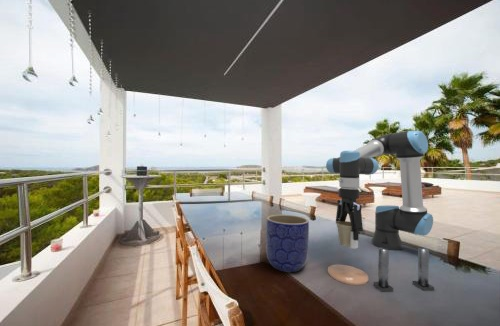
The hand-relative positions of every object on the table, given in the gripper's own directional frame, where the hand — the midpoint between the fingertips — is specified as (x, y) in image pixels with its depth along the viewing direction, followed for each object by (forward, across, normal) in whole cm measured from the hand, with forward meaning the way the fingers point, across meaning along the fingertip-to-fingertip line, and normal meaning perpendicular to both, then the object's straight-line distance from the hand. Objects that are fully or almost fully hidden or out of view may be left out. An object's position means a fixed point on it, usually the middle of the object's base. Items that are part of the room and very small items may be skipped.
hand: (347, 243), depth 88 cm
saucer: (+13, 0, 0) cm, 13 cm away
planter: (+13, -9, -23) cm, 28 cm away
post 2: (+13, +10, +24) cm, 29 cm away
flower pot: (+1, 0, 0) cm, 1 cm away
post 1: (+13, +10, +8) cm, 18 cm away
